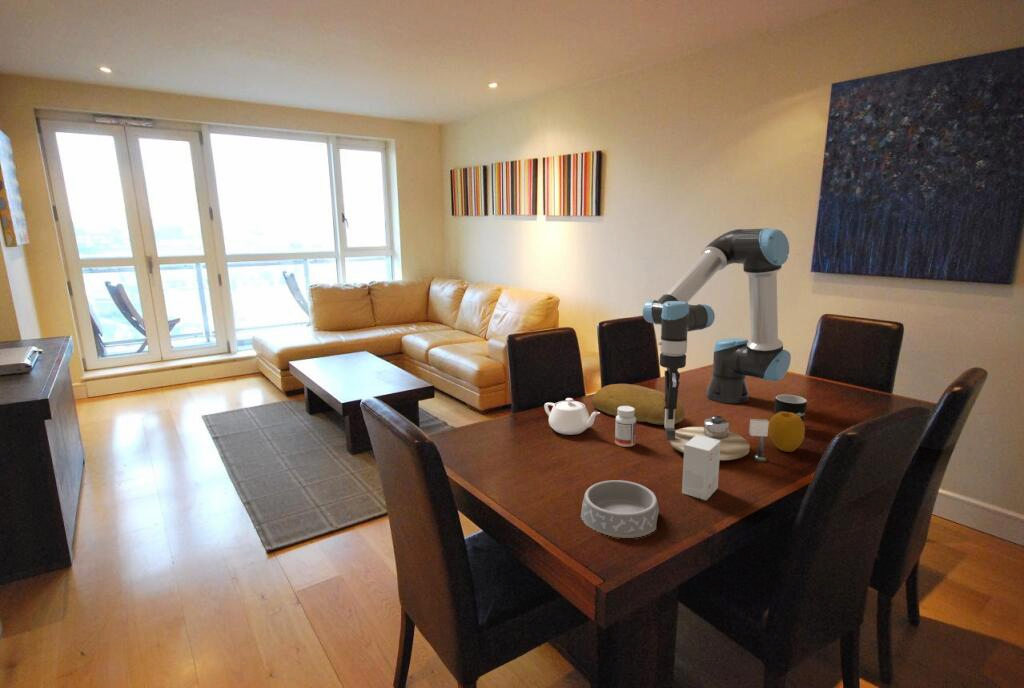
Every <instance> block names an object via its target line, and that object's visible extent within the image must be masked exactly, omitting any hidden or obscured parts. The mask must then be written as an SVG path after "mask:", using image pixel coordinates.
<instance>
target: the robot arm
mask: <svg viewBox="0 0 1024 688" xmlns="http://www.w3.org/2000/svg"><path fill="white" fill-rule="evenodd" d="M700 253H701V254H700V257H699V258H698V259H697V260H696V261H694V263H692V265H691V266H690V267H689V268H688V269H687V270H686V271H685V272H684V273H683V274H681V276H680V277H679V278H678V279H677V280H676V281H675V282H674V283H673V284H672V285H671V286H670V287H669V288H668V290H666V291H665V293H664V294H662V295H661V297H659V298H658V299H657V300H656V299H653V300H648V301H646V302H645V304H644V306H643V308H642V316H643V318H644V321H646V322H647V323H651V324H654V325H661V327H660V329H661V330H660V331H661V334H660V341H659V342H658V345H659V346H660V352H661V353H660V354H659V366H661V367H662V368H666V370H664V385H665V386H664V393H665V402H666V403H665V405H666V406H664V409H665V424H664V429H666V428H674V429H675V424H674V423H675V409H676V408H677V402H678V396H679V395H678V394H679V385H680V381H679V380H680V373H679V371H678V369H683V368H685V367H686V366H687V365H686V364H687V355H686V353H688V352H687V351H688V350H687V349H688V332H692V331H693V332H694V331H700V330H702V331H703V330H704V329H708V328H709V327H711V326H712V325H713V324H714V322H715V318H716V317H715V311H714V309H713V307H712V306H710V305H708V304H705V303H704V304H696V305H695V304H689V302H690V300H691V299H692V298H693V297H694V296H695V295H696V294H697V293H698V292H699V291H701V289H702V288H703V287H704V286H705V285H706V284H707V283H708V281H709V280H711V278H713V277H714V275H716V273H717V272H718V271H722V270H723V269H725V268H726V267H727V266H729V265H732V264H742V266H743V272H744V273H745V274H746V275H747V276H748V294H749V298H748V299H749V318H750V319H749V320H750V339H749V340H748V339H747V338H742V337H741V338H740V337H739V338H738V337H737V338H736V337H734V338H732V337H731V338H723V339H719V340H717V341H715V343H714V349H713V363H712V375H711V379H710V382H709V384H708V387H707V389H706V398H707V399H710V400H712V401H714V402H719V403H723V404H742V403H746V402H748V401H749V398H750V397H749V396H750V394H749V389H748V387H747V382H746V377H751V378H754V379H758V380H763V381H770V382H779V381H780V380H782V379H783V378H784V377H785V375H786V374H787V372H788V371H789V368H790V365H791V359H792V357H791V353H790V352H789V351H788V350H786V349H784V342H783V341H782V340H781V339H779V329H778V328H779V327H778V325H779V324H778V323H779V321H778V320H779V319H778V314H779V313H778V282H777V281H778V277H777V274H778V272H780V271H781V270H782V265H784V264H785V263H786V262H787V261H788V257H789V254H790V242H789V239H788V237H787V235H786V234H785V233H784V231H782V230H780V229H777V228H768V227H767V228H747V229H745V228H739V229H731V230H729V231H727V232H724V233H723V234H721V235H719V236H718V237H716V238H715V239H714V240H712V241H711V242H710V243H709V244H707V246H705V247H704V249H702V251H701V252H700Z"/></svg>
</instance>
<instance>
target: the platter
mask: <svg viewBox="0 0 1024 688" xmlns="http://www.w3.org/2000/svg"><path fill="white" fill-rule="evenodd" d="M696 435H699V436H704V437H707V436H705V435H704V426H687V427H683V428H679V429H678V428H677V429H675V427H674V428H665V439H666V441H669V444H670V445H671V446H672V448H674V449H675V450H677V451H678V452H681V453H683V454H684V445H685V444H686V443H687V442H688V441H690V440H691V439H692V438H693V437H694V436H696ZM708 438H710V437H708ZM712 439H714V438H712ZM716 440H720V441H721V444H720V460H719V461H731V460H737V459H741V458H744V457H745V456H747V455H748V454H749V453H750V447H751V446H750V443H749V441H748V440H747V439H746V438H744V437H742V436H741V435H740V434H737V433H735V432H732V431H729V433H728V437H727V438H725V439H716Z"/></svg>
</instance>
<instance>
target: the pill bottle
mask: <svg viewBox="0 0 1024 688" xmlns="http://www.w3.org/2000/svg"><path fill="white" fill-rule="evenodd" d="M617 414H618V415H617V416H615V420H614V421H615V425H614V426H615V427H614V428H615V431H614V442H615V445H618V446H620V447H625V448H626V447H627V448H628V447H629V448H630V447H633V446H635V445H636V440H637V439H636V437H637V436H636V435H637V421H636V418H635V416H634V415H635V409H634V408H633V407H630V406H620V407H618V410H617Z"/></svg>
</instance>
